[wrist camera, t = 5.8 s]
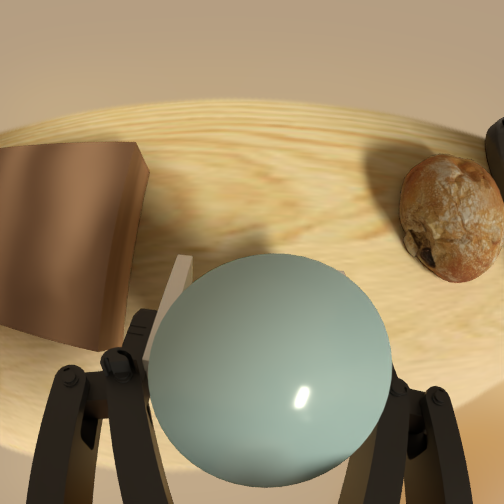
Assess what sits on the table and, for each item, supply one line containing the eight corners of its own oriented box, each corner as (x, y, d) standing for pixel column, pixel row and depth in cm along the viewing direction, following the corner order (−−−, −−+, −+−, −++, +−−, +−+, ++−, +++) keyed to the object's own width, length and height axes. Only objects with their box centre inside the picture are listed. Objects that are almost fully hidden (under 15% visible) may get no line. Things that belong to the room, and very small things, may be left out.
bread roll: (365, 215, 25) (383, 213, 17) (433, 136, 23) (469, 109, 15) (436, 293, 24) (473, 319, 16) (499, 214, 22) (547, 214, 14)
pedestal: (149, 172, 20) (135, 142, 16) (122, 346, 18) (98, 351, 14) (24, 170, 20) (-1, 148, 16) (-7, 313, 17) (-40, 309, 13)
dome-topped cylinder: (307, 296, 19) (397, 265, 9) (298, 402, 18) (373, 478, 7) (197, 286, 19) (162, 241, 8) (188, 395, 17) (145, 474, 7)
